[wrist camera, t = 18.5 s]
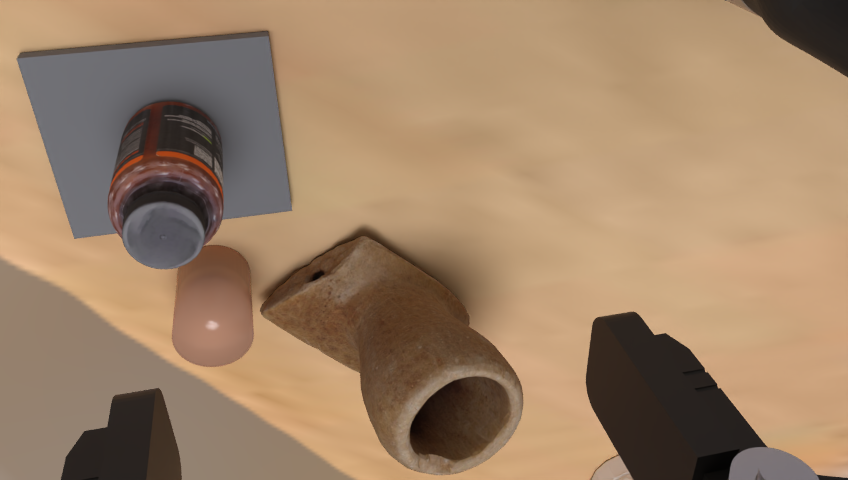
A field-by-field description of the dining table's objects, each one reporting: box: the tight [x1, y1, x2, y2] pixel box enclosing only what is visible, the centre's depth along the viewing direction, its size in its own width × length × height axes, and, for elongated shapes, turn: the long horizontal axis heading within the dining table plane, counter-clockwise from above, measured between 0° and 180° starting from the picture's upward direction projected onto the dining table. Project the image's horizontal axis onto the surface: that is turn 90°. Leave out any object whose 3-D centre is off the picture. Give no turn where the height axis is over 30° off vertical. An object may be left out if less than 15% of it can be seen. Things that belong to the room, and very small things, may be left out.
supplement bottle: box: [108, 101, 224, 269], centre depth 42 cm, size 6×6×11 cm
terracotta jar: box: [172, 245, 254, 367], centre depth 51 cm, size 5×5×7 cm
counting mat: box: [17, 31, 292, 239], centre depth 47 cm, size 14×12×1 cm
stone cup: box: [260, 236, 523, 475], centre depth 52 cm, size 15×12×15 cm
